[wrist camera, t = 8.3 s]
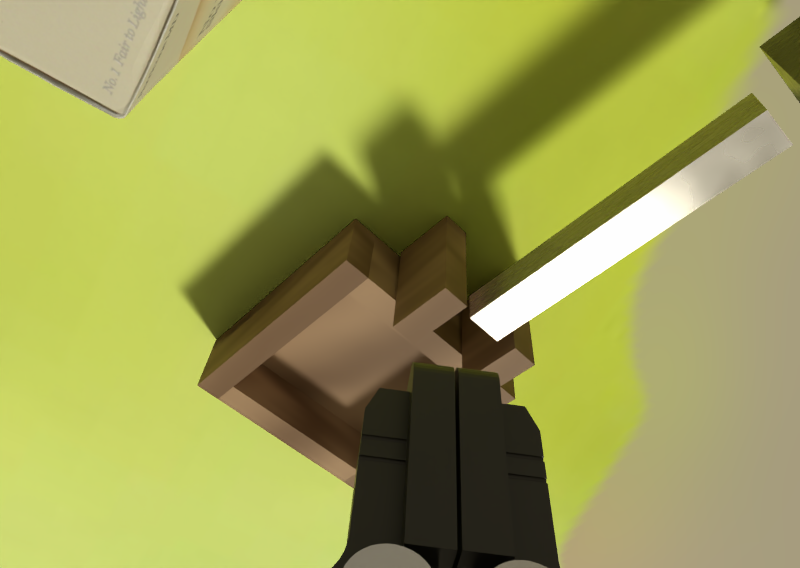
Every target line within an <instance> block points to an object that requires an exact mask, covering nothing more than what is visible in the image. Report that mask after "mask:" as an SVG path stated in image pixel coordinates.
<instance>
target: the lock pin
mask: <svg viewBox="0 0 800 568" xmlns="http://www.w3.org/2000/svg"><path fill="white" fill-rule="evenodd" d="M760 48H761V50H762V51H763V52H764V54H765V55H766V57H767V58H768V59H769V60H770V62H771V63H772V65H773V66H774V68H775V69H776V70H777V72H778V73H779V75H780V76H781V77H782V79H783V80H784V82H785V83H786V84H787V86H788V87H789V89H790V90H791V91H792V92H793V94H794V96H795V97H796V98H797V100H798V101H799V103H800V17H799V18H797V19H796V20H795V21H793V22H792V23H791V24H789V25H788V26H787V27H785V28H784V29H783V30H781V31H780V32H779V33H777V34H776V35H775V36H773V37H772V38H771V39H769V40H768V41H767V42H765V43H764V44H763V45H761V46H760ZM792 145H793V144H792V143H791V141H790V140H789V139H788V137H787V136H786V135H785V134H784V132H783V131H782V129H781V128H780V127H779V125H778V124H777V123H776V121H775V120H774V119H773V117H772V116H771V115H770V113H769V112H768V111H767V109H766V108H765V107H764V106H763V105H762V104H761V103H760V101H759V100H758V99H757V98H756V97H755V96H754V95H753V94H752V93H751V94H750V95H748V96H747V97H745V98H744V99H743V100H741V101H740V102H738V103H737V104H736V105H734V106H733V107H731V108H730V109H729V110H727V111H726V112H724V113H723V114H722V115H720V116H719V117H718V118H716V119H715V120H713V121H712V122H711V123H709V124H708V125H706V126H705V127H704V128H702V129H701V130H699V131H698V132H697V133H695V134H694V135H693V136H691V137H690V138H688V139H687V140H686V141H684V142H683V143H681V144H680V145H679V146H677V147H676V148H674V149H673V150H672V151H670V152H669V153H667V154H666V155H665V156H663V157H662V158H661V159H659V160H658V161H656V162H655V163H654V164H652V165H651V166H649V167H648V168H647V169H645V170H644V171H642V172H641V173H640V174H638V175H637V176H636V177H634V178H633V179H631V180H630V181H629V182H627V183H626V184H624V185H623V186H622V187H620V188H619V189H617V190H616V191H615V192H613V193H612V194H610V195H609V196H608V197H606V198H605V199H604V200H602V201H601V202H599V203H598V204H597V205H595V206H594V207H592V208H591V209H590V210H588V211H587V212H585V213H584V214H583V215H581V216H580V217H579V218H577V219H576V220H574V221H573V222H572V223H570V224H569V225H567V226H566V227H565V228H563V229H562V230H560V231H559V232H558V233H556V234H555V235H553V236H552V237H551V238H549V239H548V240H547V241H545V242H544V243H542V244H541V245H540V246H538V247H537V248H535V249H534V250H533V251H531V252H530V253H528V254H527V255H526V256H524V257H523V258H521V259H520V260H519V261H517V262H516V263H515V264H513V265H512V266H510V267H509V268H508V269H506V270H505V271H503V272H502V273H501V274H499V275H498V276H496V277H495V278H494V279H492V280H491V281H490V282H488V283H487V284H485V285H484V286H483V287H481V288H480V289H478V290H477V291H476V292H474V293H473V294H471V295H470V318H471V319H472V320H473V321H474V322H475V323H477V324H478V325H479V326H480V327H481V328H482V329H484V330H485V331H486V332H487V333H488V334H489V335H491V336H492V337H493V338H494V339H495V340H496V341H498V340H500V339H501V338H503V337H504V336H506V335H507V334H509V333H510V332H512V331H513V330H515V329H516V328H518V327H519V326H521V325H523V324H524V323H526V322H527V321H529V320H530V319H532V318H533V317H535V316H536V315H538V314H539V313H541V312H542V311H544V310H545V309H547V308H548V307H550V306H551V305H553V304H554V303H556V302H557V301H559V300H560V299H562V298H563V297H565V296H566V295H568V294H569V293H571V292H572V291H574V290H575V289H577V288H578V287H580V286H581V285H583V284H584V283H586V282H587V281H589V280H590V279H592V278H593V277H595V276H596V275H598V274H599V273H601V272H602V271H604V270H605V269H607V268H608V267H610V266H611V265H613V264H614V263H616V262H617V261H619V260H620V259H622V258H623V257H625V256H626V255H628V254H629V253H631V252H632V251H634V250H635V249H637V248H638V247H640V246H641V245H643V244H644V243H646V242H647V241H649V240H650V239H652V238H653V237H655V236H656V235H658V234H659V233H661V232H662V231H664V230H666V229H667V228H669V227H670V226H672V225H673V224H675V223H676V222H678V221H679V220H681V219H682V218H684V217H685V216H687V215H688V214H690V213H691V212H692V211H694V210H696V209H697V208H698V207H700V206H702V205H703V204H705V203H706V202H707V201H709V200H711V199H712V198H714V197H715V196H717V195H718V194H720V193H721V192H723V191H724V190H726V189H727V188H729V187H730V186H732V185H733V184H734V183H736V182H738V181H739V180H741V179H742V178H744V177H745V176H747V175H748V174H750V173H751V172H753V171H754V170H756V169H757V168H759V167H760V166H762V165H763V164H765V163H766V162H768V161H769V160H771V159H772V158H774V157H775V156H777V155H778V154H780V153H781V152H783V151H784V150H786V149H787V148H789V147H790V146H792Z"/></svg>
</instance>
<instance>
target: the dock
mask: <svg viewBox="0 0 800 568" xmlns="http://www.w3.org/2000/svg"><path fill="white" fill-rule="evenodd" d="M413 362H418V363H426V364H433V365H441V366H449V367H454V370H455V369H456V368H457V367H458V368H465V369H473V370H480V371H488V372H496V373H498V375H499V379H500V389H501V400H502V404H507V403H509V402H511V401H512V400H514V399H515V392H514V381H513V378H515V377H516V376H518V375H519V374H521V373H523V372H524V371H526V370H527V369H529V368H531V367H532V366H534V365H535V364H534V356H533V348H532V340H531V333H530V325H529V321H527V322H526V323H524V324H523V325H521V326H519V327H518V328H516V329H515V330H513V331H512V332H510V333H509V334H507V335H506V336H504V337H503V338H501V339H500V340H498V341H496V340H495V339H494V338H493V337H492V336H491V335H489V334H488V333H487V332H486V331H485V330H484V329H482V328H481V327H480V326H479V325H478V324H477V323H475V322H474V321H473V320H472V319H471V318H470V299H469V300H467V271H466V233H465V232H464V231H463V230H462V229H461V228H460V227H459V226H458V225H457V224H455V223H454V222H453V221H452V220H451V219H450V218H449V217H448V216H446V217H445V218H443V219H442V220H441V221H440V222H438V223H437V224H436V225H435V226H433V227H432V228H431V229H430V230H429V231H427V232H426V233H425V234H424V235H422V236H421V237H420V238H419V239H417V240H416V241H415V242H414V243H412V244H411V245H410V246H409V247H407V248H406V249H405V250H404V251H402V252H401V257H400V256H399V255H397V254H396V253H395V252H394V251H393V250H392V249H390V248H389V247H388V246H387V245H386V244H385V243H383V242H382V241H381V240H380V239H379V238H378V237H376V236H375V235H374V234H373V233H372V232H371V231H369V230H368V229H367V228H366V227H365V226H364V225H362V224H361V223H360V222H359V221H358V220H357V219H355V220H353V221H352V222H351V223H350V224H349V225H348V226H347V227H345V228H344V229H343V230H342V231H341V232H340V233H339V234H337V235H336V236H335V237H334V238H333V239H332V240H331V241H329V242H328V243H327V244H326V245H325V246H324V247H322V248H321V249H320V250H319V251H318V252H317V253H316V254H314V255H313V256H312V257H311V258H310V259H309V260H308V261H306V262H305V263H304V264H303V265H302V266H301V267H300V268H298V269H297V270H296V271H295V272H294V273H293V274H292V275H290V276H289V277H288V278H287V279H286V280H285V281H283V282H282V283H281V284H280V285H279V286H278V287H277V288H275V289H274V290H273V291H272V292H271V293H270V294H269V295H267V296H266V297H265V298H264V299H263V300H262V301H261V302H259V303H258V304H257V305H256V306H255V307H254V308H252V309H251V310H250V311H249V312H248V313H247V314H246V315H244V316H243V317H242V318H241V319H240V320H239V321H238V322H236V323H235V324H234V325H233V326H232V327H231V328H230V329H228V330H227V331H226V332H225V333H224V334H223V335H221V336H220V337H219V338H218V339H217V340H216V342H215V344H214V346H213V349H212V351H211V354H210V356H209V358H208V361H207V363H206V366H205V368H204V371H203V373H202V375H201V378H200V380H199V383H198V386H199V387H201V388H202V389H204V390H205V391H207V392H208V393H210V394H211V395H213V396H214V397H216V398H217V399H219V400H220V401H222V402H223V403H225V404H227V405H228V406H230V407H231V408H233V409H234V410H236V411H237V412H239V413H240V414H242V415H243V416H245V417H246V418H248V419H249V420H251V421H252V422H254V423H255V424H257V425H258V426H260V427H261V428H263V429H264V430H266V431H267V432H269V433H271V434H272V435H274V436H275V437H277V438H278V439H280V440H281V441H283V442H284V443H286V444H287V445H289V446H290V447H292V448H293V449H295V450H296V451H298V452H299V453H301V454H302V455H304V456H305V457H307V458H308V459H310V460H311V461H313V462H314V463H316V464H318V465H319V466H321V467H322V468H324V469H325V470H327V471H328V472H330V473H331V474H333V475H334V476H336V477H337V478H339V479H340V480H342V481H343V482H345V483H346V484H348V485H349V486H351V487H352V488H354V483H355V475H356V468H357V460H358V453H359V446H360V439H361V432H362V425H363V418H364V411H365V408H366V406H367V405H368V403H369V402H370V401H371V399H372V398H373V397H374V395H375V394H376V392H377V391H378V390H379V388H385V389H393V390H401V391H407V387H408V382H409V376H410V371H411V366H412V363H413Z"/></svg>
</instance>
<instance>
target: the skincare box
mask: <svg viewBox="0 0 800 568" xmlns="http://www.w3.org/2000/svg"><path fill="white" fill-rule="evenodd" d="M241 1H242V0H0V56H2V57H4V58H5V59H7V60H8V61H10V62H12V63H14V64H16V65H18V66H20V67H21V68H23V69H25V70H27V71H29V72H31V73H32V74H34V75H36V76H38V77H40V78H42V79H43V80H45V81H47V82H49V83H50V84H52V85H53V86H55V87H58V88H60V89H61V90H63V91H65V92H67V93H69V94H71V95H73V96H75V97H77V98H79V99H80V100H82V101H84V102H86V103H88V104H90V105H92V106H94V107H96V108H98V109H100V110H102V111H104V112H106V113H108V114H109V115H111V116H113V117H115V118H125V117H126V116H127V114H128V113H130V111H131V110H132V109H133V108H134V107H135V106H136V105H137V104H138V103H139V102H140V101H141V100H142V99H143V97H144V96H145V95H146V94H147V93H148V92H149V91H150V90H151V89H152V88H153V87H154V86H155V85H156V84H157V83H158V82H159V81H160V80H161V79H162V78H163V77H164V76H165V75H166V74H167V73H168V72H169V71H170V70H171V69H172V68H173V67H174V66H175V65H176V64H177V63H178V62H179V61H180V60H181V59H182V58H183V57H184V56H185V55H186V54H187V53H188V52H189V51H190V50H192V49H193V48H194V46H195V45H196V44H197V43H198V42H200V41H201V40H202V39H203V38H204V37H205V36H206V35H207V34H208V33H209V32H210V31H211V30H212V29H213V28H214V27H215V26H216V25H217V24H218V23H219V22H220V21H221V20H222V19H223V18H224V17H225V16H226V15H227V14H228V13H229V12H230V11H231V10H232V9H233V8H234V7H235V6H236V5H238V4H239V3H240V2H241Z"/></svg>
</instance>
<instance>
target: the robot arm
mask: <svg viewBox="0 0 800 568" xmlns="http://www.w3.org/2000/svg"><path fill="white" fill-rule="evenodd" d="M543 457H544V456H543V449H542V442H541V435H540V430H539V428H538V427H537V425H536V424H535V422H534V420H533V419H532V417H531V416H530V414H529V412H528V411H527V409H526V408H525V406H517V405H509V404H502V400H501V389H500V379H499V375H498V373H496V372H488V371H480V370H473V369H465V368H458V367H457V368H456V369H455V370H454V367H449V366H441V365H433V364H426V363H418V362H413V363H412V366H411V371H410V376H409V382H408V387H407V391H401V390H393V389H385V388H379V390H378V391H377V392H376V394H375V395H374V397H373V398H372V399H371V401H370V402H369V403H368V405H367V406H366V408H365V411H364V418H363V425H362V432H361V439H360V446H359V453H358V460H357V468H356V475H355V483H354V491H353V499H352V507H351V515H350V523H349V530H348V538H347V546H346V548H345V551H344V553H343V554H342V556H341V558H340V559H339V560H338V562H337V563H336V564H335V565H334V566H333V567H332V568H560V566H559V561H558V554H557V547H556V540H555V533H554V526H553V519H552V512H551V505H550V498H549V491H548V484H547V483H546V479H547V477H546V470H545V463H544V462H543Z"/></svg>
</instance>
